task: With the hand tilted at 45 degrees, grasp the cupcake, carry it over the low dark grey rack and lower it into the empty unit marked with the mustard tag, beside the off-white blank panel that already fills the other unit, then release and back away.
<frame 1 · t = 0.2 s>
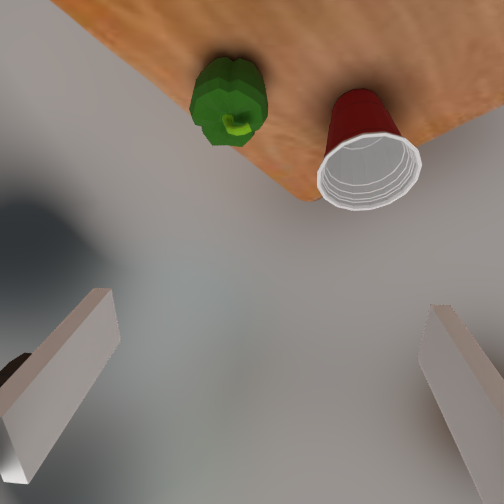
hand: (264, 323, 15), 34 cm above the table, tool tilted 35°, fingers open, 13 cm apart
bell pepper: (233, 77, 43), on the table
plastic cup: (356, 106, 46), on the table
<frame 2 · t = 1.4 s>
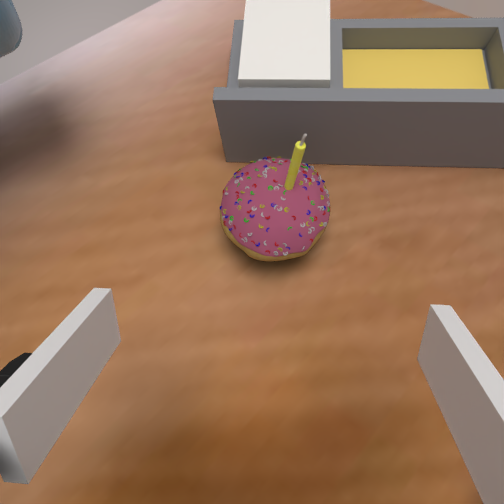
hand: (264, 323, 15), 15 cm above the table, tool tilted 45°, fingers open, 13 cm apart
cupcake: (275, 231, 33), on the table
rack: (362, 104, 37), on the table
blank panel: (284, 95, 36), resting on rack
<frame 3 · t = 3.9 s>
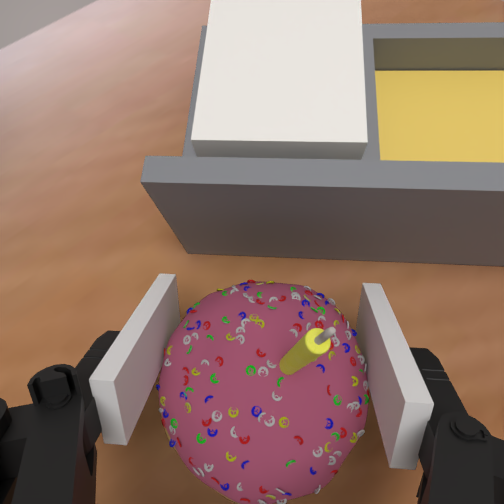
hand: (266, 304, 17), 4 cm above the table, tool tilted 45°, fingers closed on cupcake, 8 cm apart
cupcake: (265, 383, 19), on the table, touching gripper
rack: (403, 157, 23), on the table
blank panel: (280, 144, 23), resting on rack
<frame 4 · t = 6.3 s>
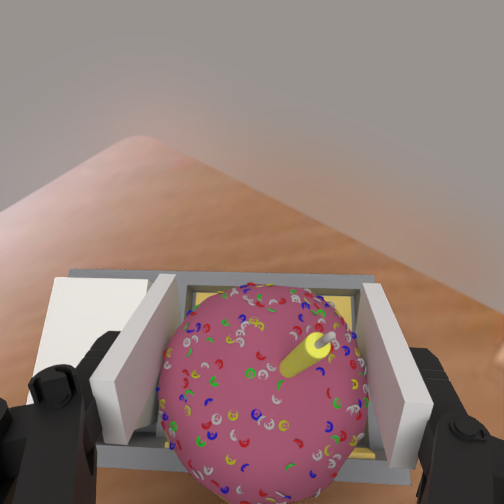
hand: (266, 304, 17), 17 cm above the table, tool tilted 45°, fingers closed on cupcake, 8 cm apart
cupcake: (265, 385, 19), point 13 cm above the table, touching gripper
rack: (218, 360, 32), on the table
blank panel: (126, 356, 32), resting on rack
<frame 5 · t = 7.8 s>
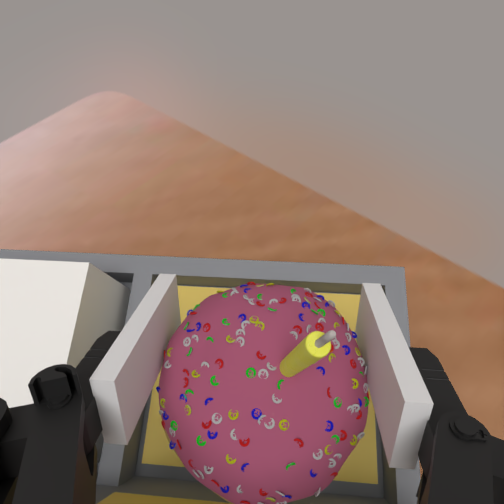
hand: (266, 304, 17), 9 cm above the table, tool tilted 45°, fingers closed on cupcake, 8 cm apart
cupcake: (265, 384, 19), point 5 cm above the table, touching gripper
rack: (192, 375, 25), on the table
blank panel: (71, 366, 24), resting on rack
when the fingers open (6 cm above the table, at t = 8.8 s): cupcake stays where it is, resting on rack.
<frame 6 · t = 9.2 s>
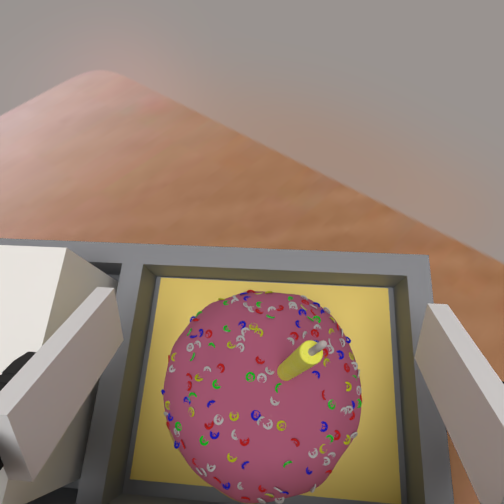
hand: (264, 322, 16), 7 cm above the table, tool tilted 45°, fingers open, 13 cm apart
cupcake: (264, 386, 20), point 1 cm above the table, touching rack
rack: (189, 378, 22), on the table
blank panel: (53, 368, 21), resting on rack
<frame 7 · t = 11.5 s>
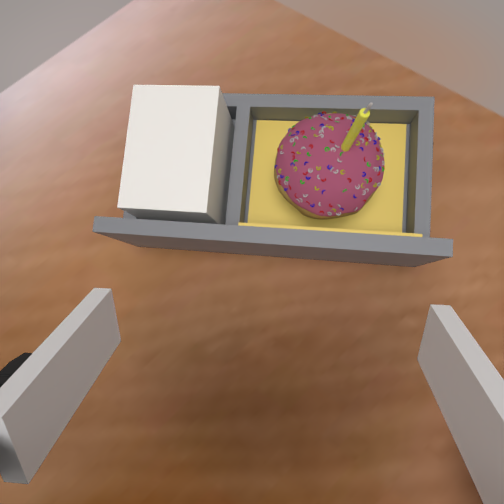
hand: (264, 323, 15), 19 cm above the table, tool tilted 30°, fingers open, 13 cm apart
cupcake: (324, 184, 34), point 1 cm above the table, touching rack
rack: (275, 183, 35), on the table
blank panel: (193, 176, 35), resting on rack
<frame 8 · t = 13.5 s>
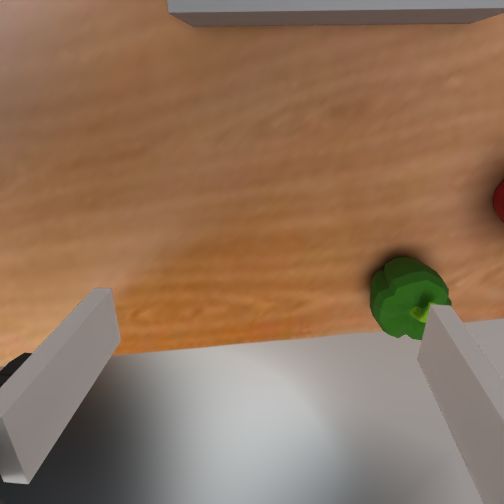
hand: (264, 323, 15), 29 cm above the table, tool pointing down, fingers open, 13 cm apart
bell pepper: (397, 277, 46), on the table
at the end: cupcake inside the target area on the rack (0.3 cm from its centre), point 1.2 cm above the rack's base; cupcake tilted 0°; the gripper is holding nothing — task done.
